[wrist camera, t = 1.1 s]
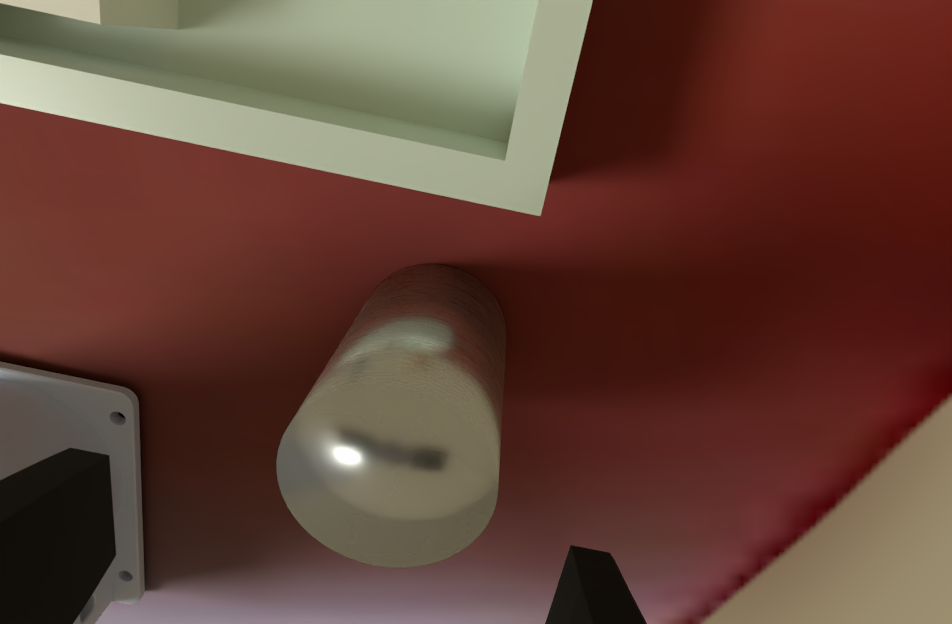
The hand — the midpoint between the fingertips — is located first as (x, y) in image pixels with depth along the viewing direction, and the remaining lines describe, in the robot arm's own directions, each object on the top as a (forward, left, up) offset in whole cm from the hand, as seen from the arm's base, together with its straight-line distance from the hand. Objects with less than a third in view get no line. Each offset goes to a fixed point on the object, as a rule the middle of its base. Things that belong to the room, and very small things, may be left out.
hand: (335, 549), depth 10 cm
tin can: (-1, 0, -10) cm, 10 cm away
